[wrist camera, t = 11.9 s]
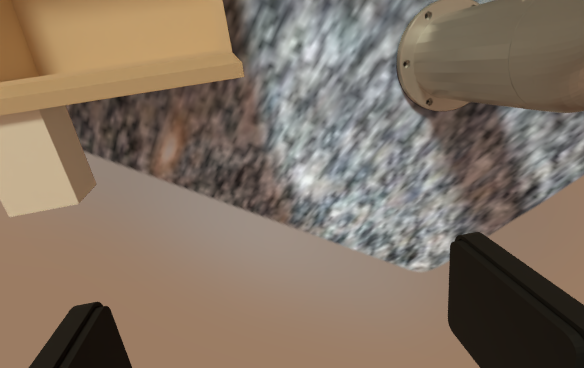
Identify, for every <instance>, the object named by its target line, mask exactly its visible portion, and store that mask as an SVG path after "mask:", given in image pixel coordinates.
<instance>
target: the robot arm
mask: <svg viewBox="0 0 584 368" xmlns="http://www.w3.org/2000/svg"><path fill="white" fill-rule="evenodd" d="M425 15H426V18H425ZM403 63H405V65H404V66H403ZM397 72H398V77H399V80H400V83H401V86H402V88H403V90H404V91H405V93H406V94H407V96H408V97H409V98H410V99H411V100H412V101H413V102H414V103H416V104H417V105H419V106H420V107H423V108H426V109H428V110H433V111H450V110H455V109H458V108H460V107H463V106H465V105H466V104H468V103H469V102H474V103H482V104H490V105H498V106H506V107H514V108H523V109H531V110H539V111H548V112H557V113H573V112H581V111H584V0H495V1H491V2H488V3H484V4H479V3H477V2H475V1H473V0H439V1H436V2H434V3H431V4H430V5H428V6H427V7H425V8H423V9H422V10H421V11H420V12H419V13H418V14H417V15H416V16H415V17H414V18H413V19H412V20H411V22H410V23H409V24H408V26H407V28H406V30H405V31H404V33H403V35H402V38H401V41H400V44H399V47H398V53H397ZM426 101H427V103H426ZM449 269H450V270H449V299H448V300H449V301H448V322H449V326H450V328H451V330H452V332H453V333H454V335H455V336H456V337H457V338H458V340H459V341H460V342H461V344H462V345H463V346H464V348H465V349H466V350H467V351H468V352H469V354H470V355H471V356H472V358H473V359H474V360H475V362H476V363H477V364H478V365H479V367H480V368H584V305H583V304H581V303H580V302H579V301H577V300H576V299H574V298H573V297H571V296H570V295H569V294H567V293H566V292H564V291H563V290H561V289H560V288H559V287H557V286H556V285H554V284H553V283H551V282H550V281H549V280H547V279H546V278H544V277H543V276H542V275H540V274H539V273H537V272H536V271H534V270H533V269H532V268H530V267H529V266H527V265H526V264H525V263H523V262H522V261H520V260H519V259H517V258H516V257H515V256H513V255H512V254H510V253H509V252H507V251H506V250H505V249H503V248H502V247H500V246H499V245H498V244H496V243H495V242H493V241H492V240H490V239H489V238H488V237H486V236H485V235H483V234H482V233H480V232H475V233H469V234H464V235H458V236H457V237H456V239H455V242H452V243H451V245H450V268H449ZM29 368H132V366H131V364H130V361H129V358H128V355H127V353H126V350H125V348H124V345H123V342H122V339H121V337H120V335H119V332H118V329H117V326H116V323H115V321H114V318H113V315H112V313H111V310H110V308H109V307H108V306H103V305H102V304H101V303H100V302H94V303H88V304H83V305H77V306H74V307H73V308H72V309H71V310H70V311H69V313H68V314H67V315H66V317H65V318H64V319H63V321H62V322H61V324H60V325H59V326H58V328H57V329H56V330H55V332H54V333H53V335H52V336H51V338H50V339H49V340H48V342H47V343H46V344H45V346H44V347H43V349H42V350H41V351H40V353H39V354H38V356H37V357H36V358H35V360H34V361H33V363H32V364H31V365H30V367H29Z"/></svg>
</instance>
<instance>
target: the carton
mask: <svg viewBox="0 0 584 368" xmlns="http://www.w3.org/2000/svg"><path fill="white" fill-rule="evenodd" d="M226 53H232V48H231V42H230V37H229V32H228V27H227V21H226V16H225V11H224V6H223V0H0V87H5V86H12V85H18V84H25V83H32V82H38V81H45V80H52V79H59V78H65V77H72V76H79V75H85V74H92V73H99V72H105V71H112V70H119V69H126V68H132V67H139V66H146V65H152V64H159V63H166V62H173V61H179V60H186V59H193V58H199V57H206V56H213V55H220V54H226Z"/></svg>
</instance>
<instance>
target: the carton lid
mask: <svg viewBox="0 0 584 368" xmlns="http://www.w3.org/2000/svg"><path fill="white" fill-rule="evenodd" d="M241 77H244V72H243V66H242V62H241V61H240V60H239V59H238V58H237V57H236V56H235V55H234V54H233V53H226V54H220V55H213V56H206V57H199V58H193V59H186V60H179V61H173V62H166V63H159V64H152V65H146V66H139V67H132V68H126V69H119V70H112V71H105V72H99V73H92V74H85V75H79V76H72V77H65V78H59V79H52V80H45V81H38V82H32V83H25V84H18V85H12V86H5V87H0V200H1V202H2V204H3V206H4V208H5V210H6V212H7V214H8V216H9V217H12V216H18V215H23V214H28V213H33V212H39V211H44V210H49V209H54V208H60V207H65V206H70V205H76V204H79V203H80V202H81V201H82V200H83V199H84V198H85V197H86V195H87V194H88V193H89V192H90V191H91V190H92V189H93V188H94V186H95V185H96V182H95V179H94V177H93V174H92V172H91V169H90V167H89V164H88V162H87V159H86V157H85V154H84V151H83V149H82V146H81V144H80V141H79V139H78V136H77V134H76V131H75V129H74V126H73V124H72V121H71V118H70V116H69V113H68V111H67V108H66V106H65V105H70V104H76V103H82V102H89V101H95V100H101V99H108V98H114V97H120V96H127V95H133V94H139V93H146V92H152V91H158V90H165V89H171V88H177V87H184V86H190V85H196V84H203V83H209V82H215V81H222V80H228V79H234V78H241Z"/></svg>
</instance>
